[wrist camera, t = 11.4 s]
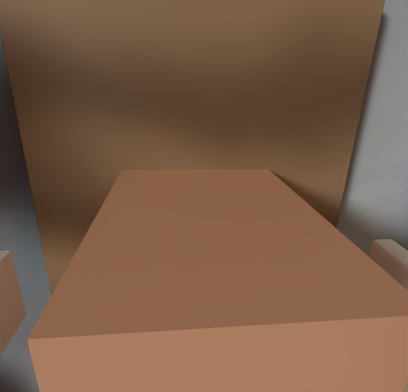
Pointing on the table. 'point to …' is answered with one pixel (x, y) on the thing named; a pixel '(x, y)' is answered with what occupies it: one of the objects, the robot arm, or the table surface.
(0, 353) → the robot arm
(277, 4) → the post board
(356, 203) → the table surface
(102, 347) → the tall salmon block
